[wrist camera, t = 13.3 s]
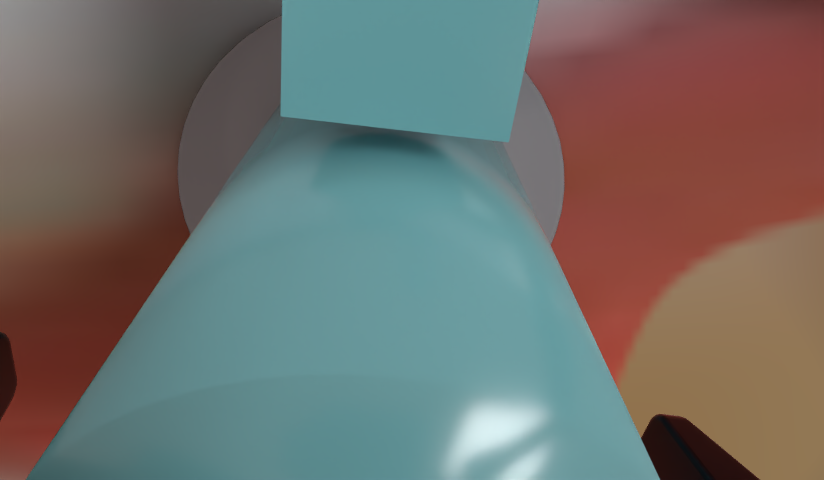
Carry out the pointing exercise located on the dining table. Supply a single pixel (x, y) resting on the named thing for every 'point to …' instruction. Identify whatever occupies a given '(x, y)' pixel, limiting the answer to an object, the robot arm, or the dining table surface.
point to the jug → (365, 285)
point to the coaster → (261, 94)
